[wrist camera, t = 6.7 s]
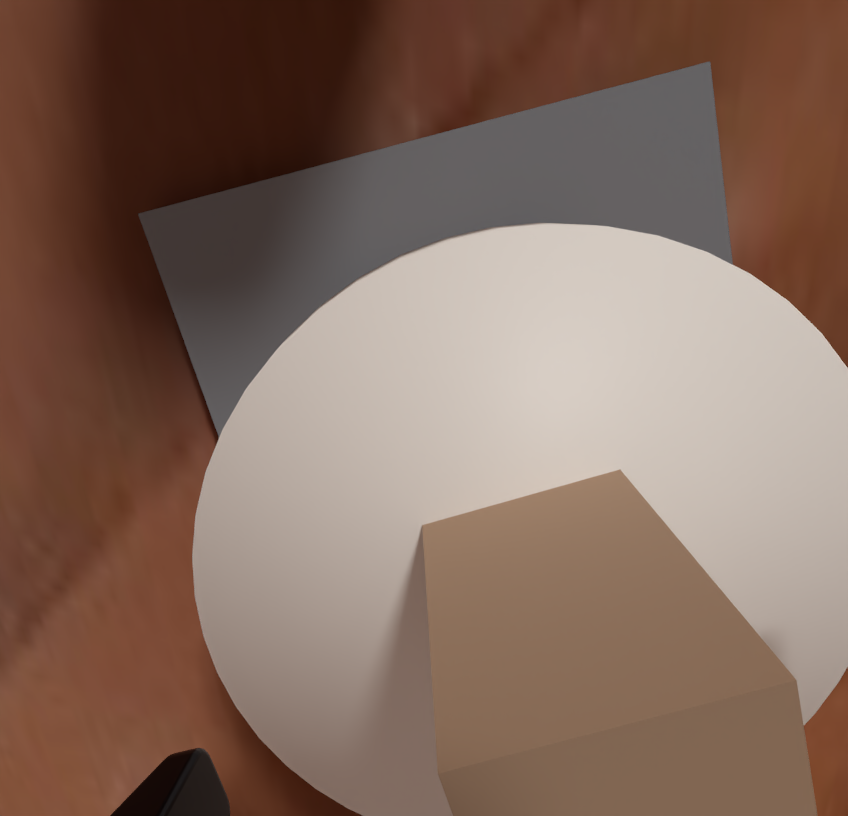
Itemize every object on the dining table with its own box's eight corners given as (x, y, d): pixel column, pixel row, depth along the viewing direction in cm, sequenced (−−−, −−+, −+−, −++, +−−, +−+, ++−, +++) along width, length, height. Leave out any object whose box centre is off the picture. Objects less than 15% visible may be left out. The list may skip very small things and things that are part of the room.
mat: (697, 67, 14) (710, 61, 13) (762, 627, 18) (774, 641, 17) (148, 213, 14) (137, 213, 14) (331, 726, 18) (329, 742, 18)
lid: (807, 127, 9) (1337, 20, 4) (874, 718, 12) (1229, 1099, 7) (103, 342, 10) (-240, 494, 5) (332, 858, 13) (283, 1307, 8)
